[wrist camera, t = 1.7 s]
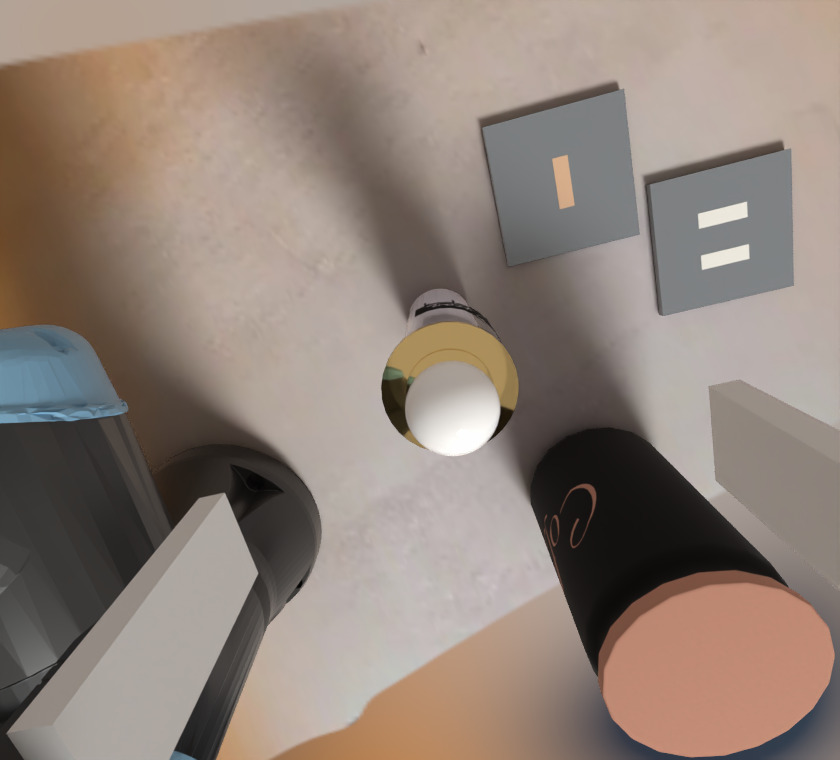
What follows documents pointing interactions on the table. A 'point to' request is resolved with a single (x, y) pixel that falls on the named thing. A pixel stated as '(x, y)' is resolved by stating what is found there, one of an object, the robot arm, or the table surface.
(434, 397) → the perfume bottle
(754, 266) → the slate code tile
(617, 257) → the table surface
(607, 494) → the coffee jar
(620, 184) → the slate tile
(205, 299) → the table surface
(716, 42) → the table surface
